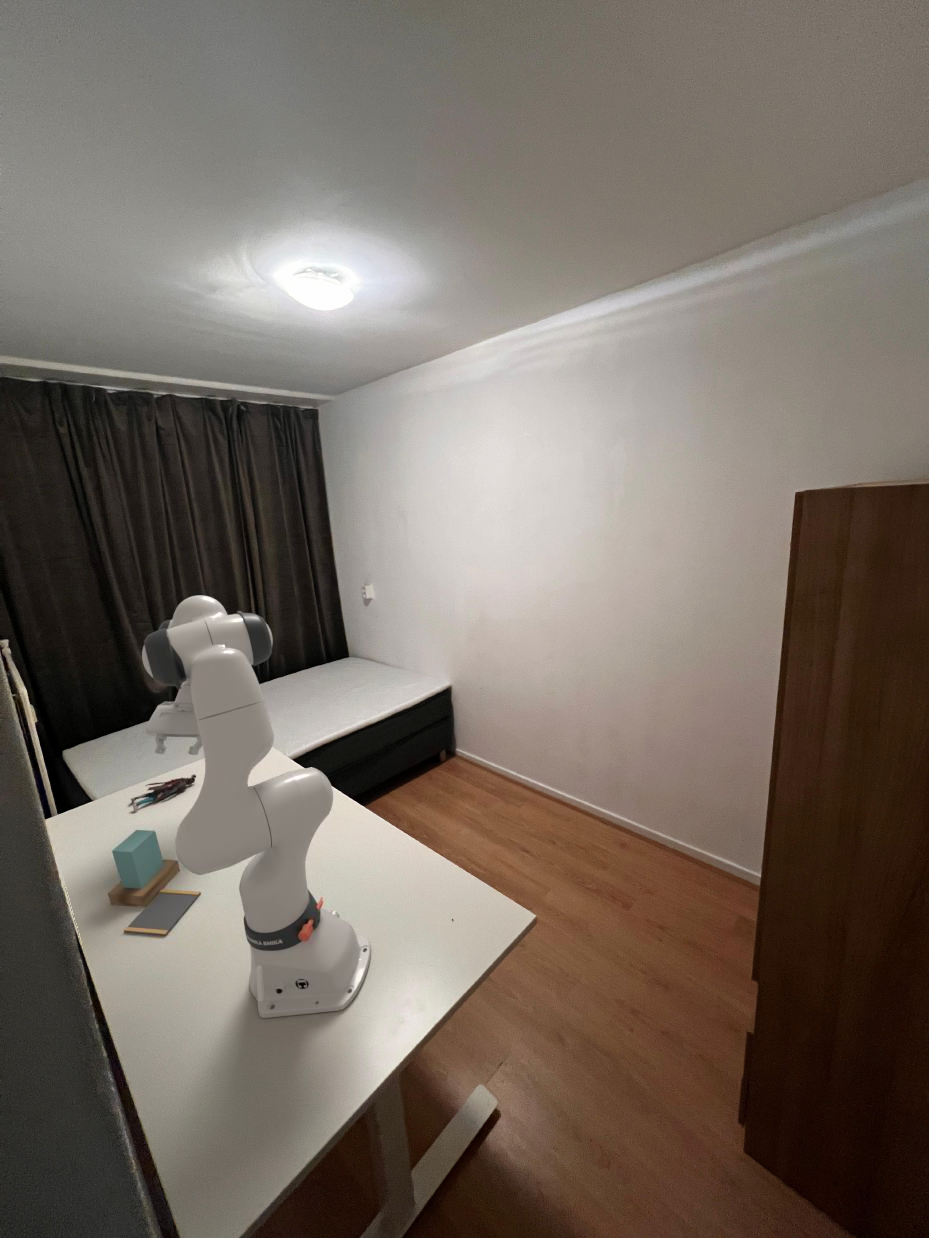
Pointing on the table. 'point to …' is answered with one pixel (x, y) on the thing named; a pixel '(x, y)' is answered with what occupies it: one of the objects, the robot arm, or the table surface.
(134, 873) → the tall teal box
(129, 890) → the block
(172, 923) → the mat
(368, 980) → the table surface
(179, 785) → the action figure
